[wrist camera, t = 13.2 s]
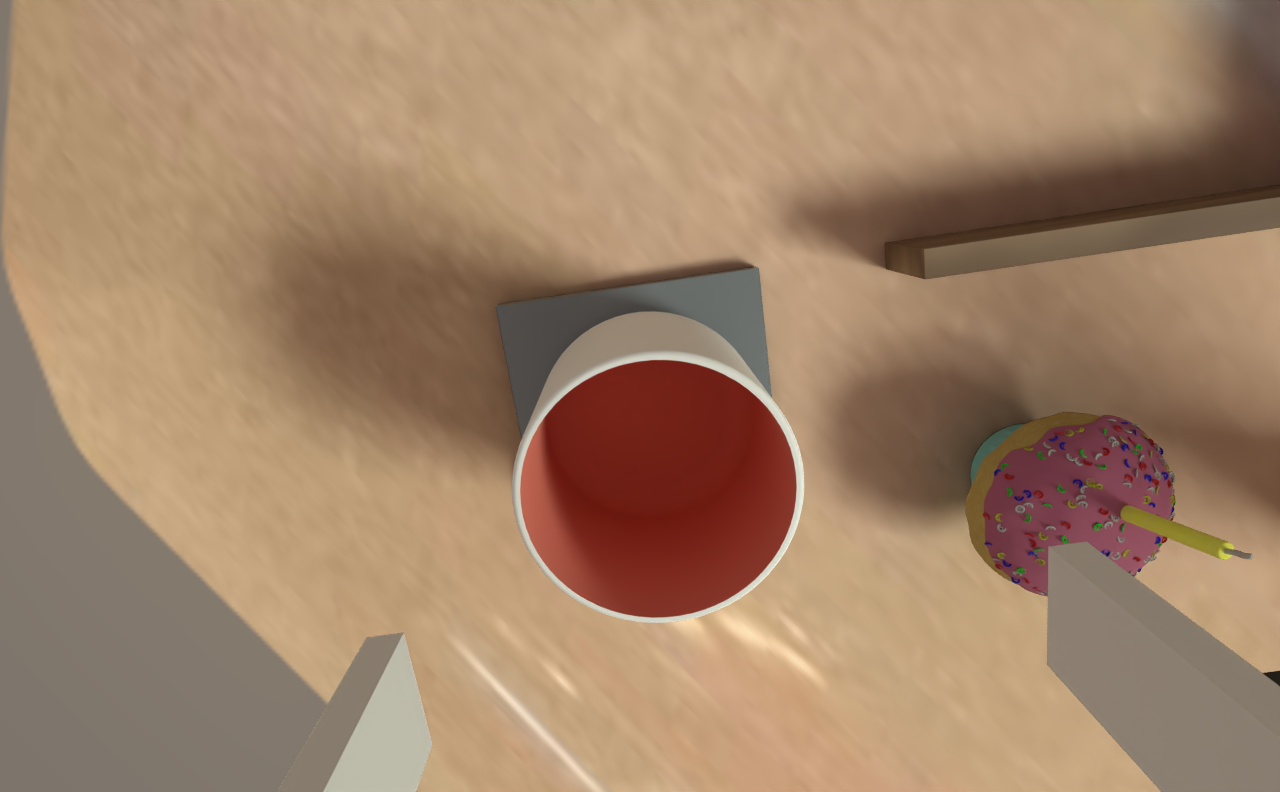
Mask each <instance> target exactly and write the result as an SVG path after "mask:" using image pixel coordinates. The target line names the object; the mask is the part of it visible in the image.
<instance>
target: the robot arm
mask: <svg viewBox="0 0 1280 792" xmlns="http://www.w3.org/2000/svg"><path fill="white" fill-rule="evenodd" d="M1047 665H1048V666H1049V667H1050V669H1051V670H1052V671H1053V672H1054V673H1055V674H1056V675H1057V676H1058V677H1059V679H1060V680H1061V681H1062V682H1063V683H1064V684H1065V685H1066V686H1067V687H1068V689H1069V690H1070V691H1071V692H1072V693H1073V694H1074V695H1075V696H1076V697H1077V699H1078V700H1079V701H1080V702H1081V703H1082V704H1083V705H1084V706H1085V707H1086V709H1087V710H1088V711H1089V712H1090V713H1091V714H1092V715H1093V716H1094V717H1095V719H1096V720H1097V721H1098V722H1099V723H1100V724H1101V725H1102V726H1103V727H1104V729H1105V730H1106V731H1107V732H1108V733H1109V734H1110V735H1111V736H1112V737H1113V739H1114V740H1115V741H1116V742H1117V743H1118V744H1119V745H1120V746H1121V747H1122V749H1123V750H1124V751H1125V752H1126V753H1127V754H1128V755H1129V756H1130V757H1131V759H1132V760H1133V761H1134V762H1135V763H1136V764H1137V765H1138V766H1139V767H1140V769H1141V770H1142V771H1143V772H1144V773H1145V774H1146V775H1147V776H1148V777H1149V779H1150V780H1151V781H1152V782H1153V783H1154V784H1155V785H1156V786H1157V787H1158V789H1159V790H1160V791H1161V792H1280V671H1275V672H1267V673H1261V672H1260V671H1259V670H1257V669H1256V668H1255V667H1253V666H1252V665H1251V664H1249V663H1248V662H1247V661H1245V660H1244V659H1243V658H1241V657H1240V656H1239V655H1237V654H1236V653H1235V652H1233V651H1232V650H1231V649H1229V648H1228V647H1227V646H1225V645H1224V644H1223V643H1221V642H1220V641H1219V640H1217V639H1216V638H1215V637H1213V636H1212V635H1211V634H1209V633H1208V632H1207V631H1205V630H1204V629H1203V628H1201V627H1200V626H1199V625H1197V624H1196V623H1195V622H1193V621H1192V620H1191V619H1189V618H1188V617H1187V616H1185V615H1184V614H1183V613H1181V612H1180V611H1179V610H1177V609H1176V608H1175V607H1173V606H1172V605H1171V604H1169V603H1168V602H1167V601H1165V600H1164V599H1163V598H1161V597H1160V596H1159V595H1157V594H1156V593H1155V592H1153V591H1152V590H1151V589H1149V588H1148V587H1147V586H1145V585H1144V584H1143V583H1141V582H1140V581H1139V580H1137V579H1136V578H1135V577H1133V576H1132V575H1131V574H1129V573H1128V572H1127V571H1125V570H1124V569H1123V568H1121V567H1120V566H1119V565H1117V564H1116V563H1115V562H1113V561H1112V560H1111V559H1109V558H1108V557H1107V556H1105V555H1104V554H1103V553H1101V552H1100V551H1099V550H1097V549H1096V548H1095V547H1093V546H1092V545H1091V544H1089V543H1088V542H1080V543H1072V544H1065V545H1057V546H1050V547H1048V621H1047ZM431 747H432V741H431V737H430V733H429V729H428V725H427V722H426V718H425V714H424V710H423V706H422V702H421V698H420V694H419V690H418V686H417V682H416V679H415V675H414V671H413V667H412V663H411V659H410V655H409V651H408V647H407V643H406V639H405V636H404V633H397V634H390V635H382V636H375V637H367V638H366V640H365V641H364V643H363V645H362V646H361V648H360V650H359V652H358V653H357V655H356V657H355V658H354V660H353V662H352V664H351V665H350V667H349V669H348V670H347V672H346V674H345V676H344V677H343V679H342V681H341V682H340V684H339V686H338V688H337V689H336V691H335V693H334V694H333V696H332V698H331V700H330V701H329V703H328V705H327V706H326V708H325V710H324V712H323V714H322V715H321V717H320V718H319V720H318V722H317V724H316V725H315V727H314V729H313V731H312V732H311V734H310V736H309V737H308V739H307V741H306V743H305V744H304V746H303V748H302V749H301V751H300V753H299V755H298V756H297V758H296V760H295V761H294V763H293V765H292V766H291V768H290V770H289V772H288V773H287V775H286V777H285V778H284V780H283V782H282V784H281V785H280V787H279V789H278V791H277V792H416V790H417V787H418V785H419V782H420V779H421V776H422V773H423V770H424V767H425V765H426V762H427V759H428V756H429V753H430V750H431Z"/></svg>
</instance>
